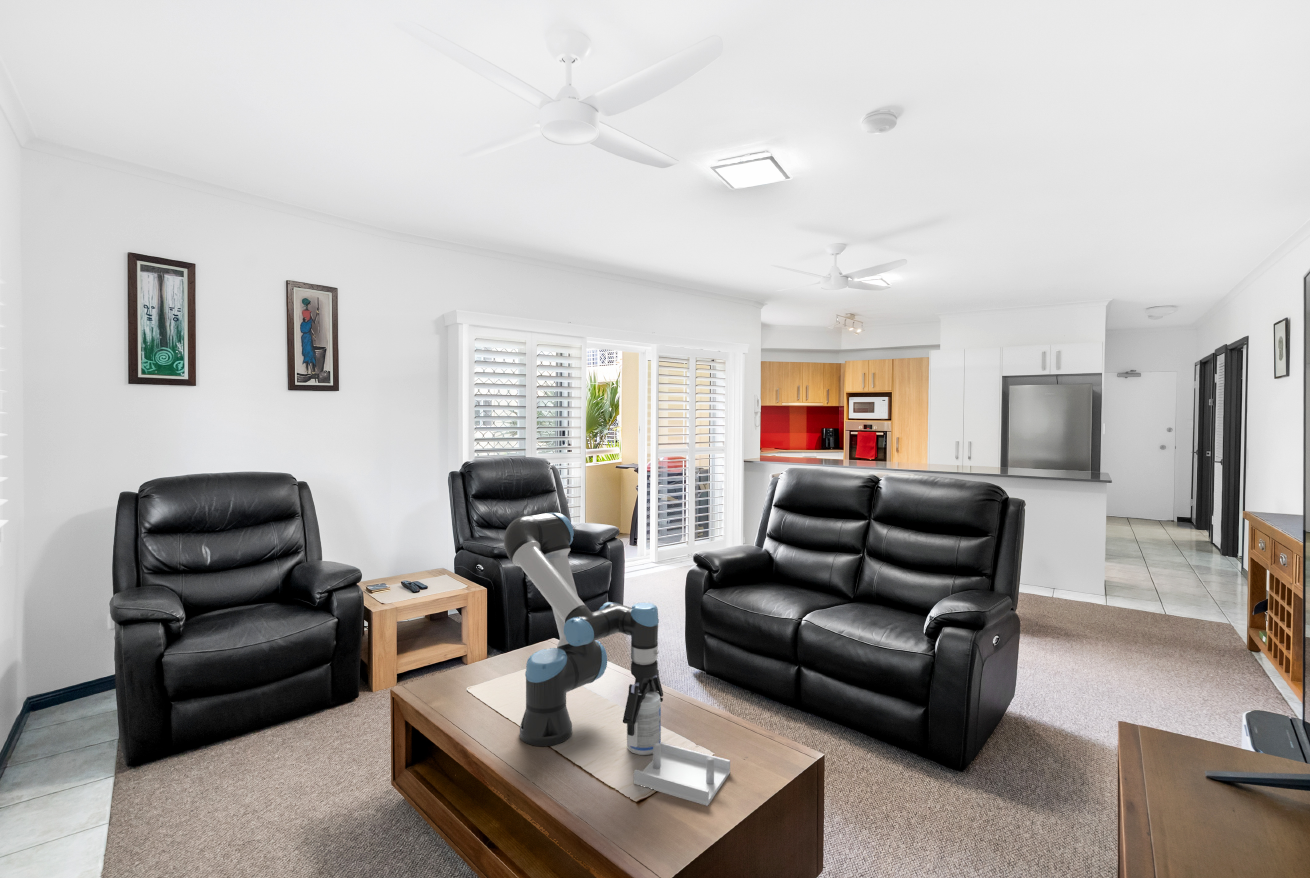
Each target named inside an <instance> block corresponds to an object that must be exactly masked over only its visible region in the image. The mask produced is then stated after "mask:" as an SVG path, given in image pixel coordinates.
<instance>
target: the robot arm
mask: <svg viewBox="0 0 1310 878" xmlns="http://www.w3.org/2000/svg"><path fill="white" fill-rule="evenodd" d="M574 534H575V533H574V528H573V525H572V522H571V521H570V518H568V517H567V516H566V515H564V514H562V513H559V512H546V513H541V514H533V515H524V516H520V517H518V518H516V519H514V520H513V521H511V522H510V524H509V525H508V526H507V527H506V530H505V533H504V536H503V545H504V546H503V547H504V550H505V552H506V556H507V557H508V559H509V560H510V561H511V562H512V564H513V565H514V566H516V567H520V568H521V569H522V571H523V573H525V575H526V576H527V577H528V579H529V580H530V581H531V582H532V583H533V585H534V586H535V588H536V589H538V591H539V592H540V594H541V595H542V596H543V597H544V599H545V600H546V601H547V603H548V604H549V605H550V606H551V609H552V612H553V616H554V620H555V623H556V628H557V631H558V635H559V641H558V643H557V645H556V647H549V648H542V649H540V650H537V651H535V652H534V653H532V654H531V655H530V656H529V657H528V658H527V661H526V666H525V667H526V668H525V669H526V670H525V673H524V675H525V711H524V713H523V715H522V716H523V717H522V719H521V722H520V725H519V738H520V740H521V741H522V742H524V743H525V744H527V745H530V746H535V747H536V746H537V747H550V746H555V745H558V744H561V743H563V742H566V741H567V740H568V739H569V738H570V737H571V736H570V735H572V734H573V722H572V720H571V716H570V714H569V711H568V708H567V693H568V692H570V691H573V690H575V689H578V688H581V687H582V686H585V685H588V684H591V683H593V682H595V681H597V680H599V679H601V677H602V676H603V675H604V674H605V673H606V672H605V671H606V669H607V667H608V653H607V651H606V648H605V646H604V645H603V644H602V642H600V639H603V638H606V637H610V636H612V635H615V634H623V635H626V636H630V660H631V661H630V673H631V675H632V676H633V677H634V684H631V683H630V684H629V685H628V695H627V696H628V698H627V699H626V704H625V707H624V708H625V709H624V712H623V713H624V714H623V717H622V718H623V719H622V724H625V725H626V746H627V745H629V746H633V747H637V725H638V722H636V720H637V716H638V713H639V710H640V706H641V703H642V700H643V699H645V696H646V694H647V692H649V691H651V692H657V693H658V694H659V695H660V701H661V703H662V702H663V701H664V697H663V696H664V692H663V687H662V684H661V679H660V672H659V662H658V658H659V657H658V656H659V653H660V651H659V648H658V647H659V646H658V645H659V642H658V640H659V638H658V637H659V635H658V634H659V623H660V619H659V611H658V610H659V609H658V607H657V605H655V604H654V603H653V602H652V603H651V602H637V603H634V604H633V605H632V606H631V607H630V606H626V605H624V604H621V603H619V602H611V601H607V602H605V603H602V604H603V605H602V606H600V607H599V609H598V610H596V611H591V610H590V609H589V607H588V606H587V605H586V604H585V603H584V602H583V600H582V599H581V598H580V597H579V595H578V590H577V586H576V584H575V580H574V576H573V572H572V568H571V564H570V560H569V557H568V555H569V554H570V553H571V552H570V551H571V546H570V545H571V544H572V543H573V540H574V538H573V537H574ZM639 694H640V695H639Z"/></svg>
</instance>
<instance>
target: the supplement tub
mask: <svg viewBox="0 0 1310 878" xmlns="http://www.w3.org/2000/svg"><path fill="white" fill-rule="evenodd" d="M639 695H640V694H639ZM627 698H628V695H627ZM661 703H662V702H661V701H660V695H659V694H658V693H657V692H651V691H649V692H647V694H646V696H645V699H643V700H642V703H641V706H640V710H639V713H638V716H637V720H636V722H638V725H637V747H633V746H629V745H627V744H626V747H627V749H628V751H630V752H631V753H633V754H635V755H638V756H648V755H653V744H654V743H661V741H662V740H661V739H662V737H661V736H662V735H661V733H662V732H661V730H662V725H661V724H662V722H661V721H662V720H661V718H662V716H661V715H662V714H661V713H662V711H661V710H662V706H661V705H662V704H661Z"/></svg>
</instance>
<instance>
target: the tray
mask: <svg viewBox="0 0 1310 878" xmlns="http://www.w3.org/2000/svg"><path fill="white" fill-rule="evenodd" d="M730 774H731V760H730V759H727V758H724V757H719V756H715V755H712V754H708V753H705V752H700V751H696V750H692V749H688V748H685V747H682V746H677V745H672V744H669V743H665V742H661V743H654V744H653V754H652V761H650V762H649V764H648V765H646V767H645V768H644V769H643V770H639V769H635V770H633V785H635V784H638V785H637V786H639V785H642V786H645V787H649V788H652V789H654V790H653V791H657V792H660V793H662V794H665V795H670V796H673V797H676V798H680V799H683V800H686V801H689V802H694V803H697V804H700V805H702V806H707V807H708V806H709V805H710V803H711V802H712V800H713V799H714V798H715V796H716V794H717V793H718V792H719V790H720V788H721V787H722V786H723V784H724V783H725V781H727V778H728V777H729V775H730ZM642 786H641V787H642ZM645 787H644V788H645ZM649 788H648V789H649ZM652 789H651V790H652Z"/></svg>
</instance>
